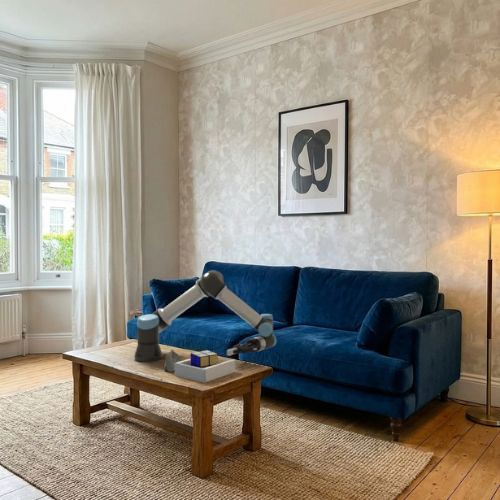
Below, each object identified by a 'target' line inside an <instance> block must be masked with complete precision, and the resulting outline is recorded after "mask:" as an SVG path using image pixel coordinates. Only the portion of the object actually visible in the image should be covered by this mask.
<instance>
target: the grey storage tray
mask: <svg viewBox="0 0 500 500" xmlns="http://www.w3.org/2000/svg"><path fill="white" fill-rule="evenodd" d="M235 372H236V359H229V360H227V361H224V362H223V361H222V362H218V364H216V365H213V366H210V367H207V368H203V369H202V368H198V367H194V366H191V358H187V359H184V360H180V362H177V363H175V371H174V376H176V377H180V378H184V379H188V380H190V381H191V380H192V381H196V382H199V383H207V382H211V381H213V380H217V379H219V378H222V377H224V376H228V375H231V374H233V373H235Z"/></svg>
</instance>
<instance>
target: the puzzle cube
mask: <svg viewBox="0 0 500 500" xmlns="http://www.w3.org/2000/svg"><path fill="white" fill-rule="evenodd" d="M218 357H219V355H218V353H215V352H213V351H210V350H208V349H207V350H202V351H195V352H190V359H191V366H194V367H198V368H202V369H203V368H207V367H210V366H213V365H216V364H219V362H218V361H219V358H218Z"/></svg>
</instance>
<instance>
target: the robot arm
mask: <svg viewBox="0 0 500 500" xmlns="http://www.w3.org/2000/svg"><path fill="white" fill-rule="evenodd" d="M209 297H212V298H213V299H215V300H218V301H220V302H221V303H222V304H224V305H225V306H226V307H227V308H228V309H230V310H231V311H233V313H235V314H236V315H237V316H238V317H240V318H241V319H242V320H244V321H245V322H246V323H247V324H248V325H250V326H251V327H252V328H253V329H255V331H257V333H258V334H259V336H257V337H252V338H250V339H248V340H247V342H245V343H242V344H241V343H240V342H239V343H237V344H234V345H233V346H232V347H231V348H229V349H227V350H226V356H229V357H230V356H233V355H236V354H246V353H253V354H254V353H257V352H260V351H263V350H267V349H270V348H273V347H274V346H276V344H277V337H276V336H275V334H274V317H273V314H272V313H261V314H259V313H258V312H257V311H256V310H254V309H253V308H252V307H251V306H249V305H248V304H247V303H246V302H245V301H244V300H242V299H241V298H240V297H238V296H237V295H236V294H235V293H234V292H232V291H231V290H230V289H229V288H228V287H227V285H226V283H225V281H224V276H223V274H222V273H221V272H220V271H217V270H214V269H212V270H209V271H207V272H206V273H204V274H203V275H202V276H200V277H199V278H198V279H196V280H195V284H194V285H193V286H192V287H190V288H189V289H188V290H186V291H184V293H183V294H180V296H178V297H177V298H176V299H174V300H173V301H171V302H170V303H168V305H166V306H165V307H163V308H158V309H156V310H155V311H154V312H152V313H151V314H147V313H146V314H142V315H140V316H138V318H137V322H136V327H137V329H136V330H137V345H136V349H135V352H134V355H133V357H134V358H133V359H134V360H135V361H136V362H142V363H143V362H144V363H148V362H157V361H159V360H161V359H163V351H162V349H161V346H160V333H162V332H163V331H164V330H166V329H167V328H169V326H171V325H172V322H173V320H175V319H176V318H177V317H179V316H180V315H181V314H183V313H184V312H185V311H186V310H188V309H189V308H191V307H192V306H194V305H195V304H196V303H198V302H199V301H200V300H202V299H203V298H209Z"/></svg>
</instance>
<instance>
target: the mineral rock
mask: <svg viewBox="0 0 500 500" xmlns="http://www.w3.org/2000/svg"><path fill="white" fill-rule="evenodd" d="M180 357H181V356H180V355H179V354H178V353H177V352H175V351H174V349H171V350H170V351H169V352H168V353H166V355H165V362H164V364H163V368H164V369H163V370H164V372H168V373H170V372H175V363H177V362H180V361H181V358H180Z"/></svg>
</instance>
